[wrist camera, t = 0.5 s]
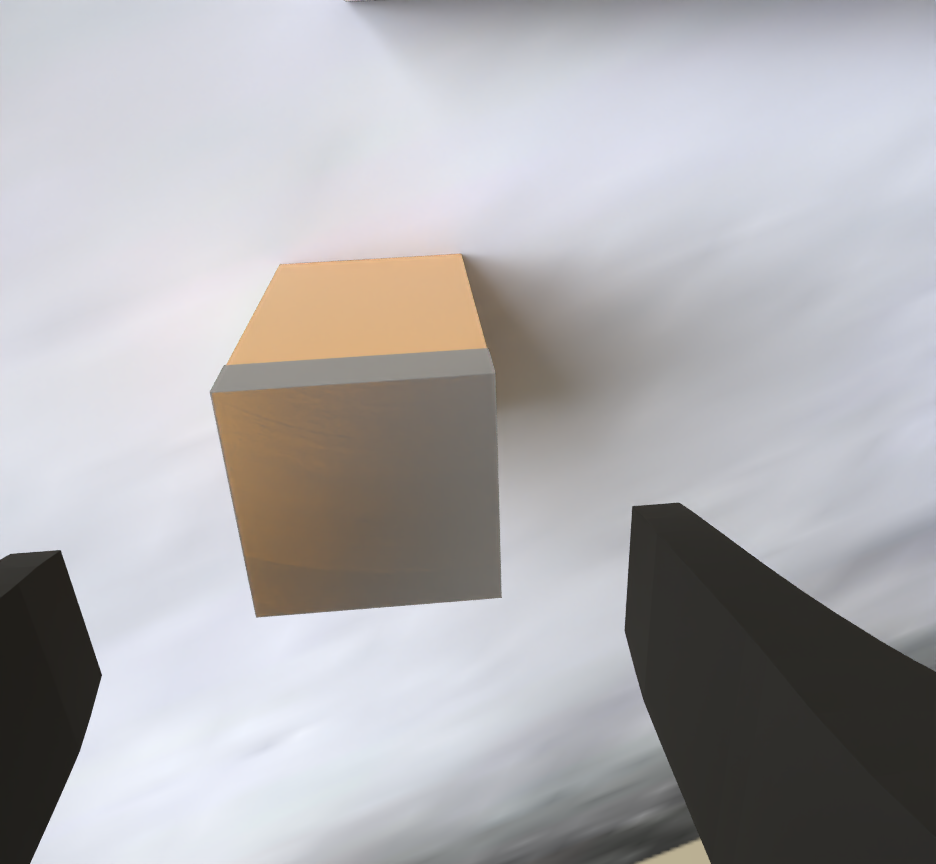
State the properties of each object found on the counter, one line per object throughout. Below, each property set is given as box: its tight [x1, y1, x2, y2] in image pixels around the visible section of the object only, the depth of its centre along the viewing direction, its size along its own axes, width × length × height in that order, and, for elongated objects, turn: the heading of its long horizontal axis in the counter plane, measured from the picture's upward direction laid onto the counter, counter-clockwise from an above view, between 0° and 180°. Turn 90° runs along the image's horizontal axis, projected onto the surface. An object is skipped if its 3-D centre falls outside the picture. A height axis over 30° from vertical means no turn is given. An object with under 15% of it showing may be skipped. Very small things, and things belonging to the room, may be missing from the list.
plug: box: [210, 254, 502, 618], centre depth 15 cm, size 4×4×7 cm
